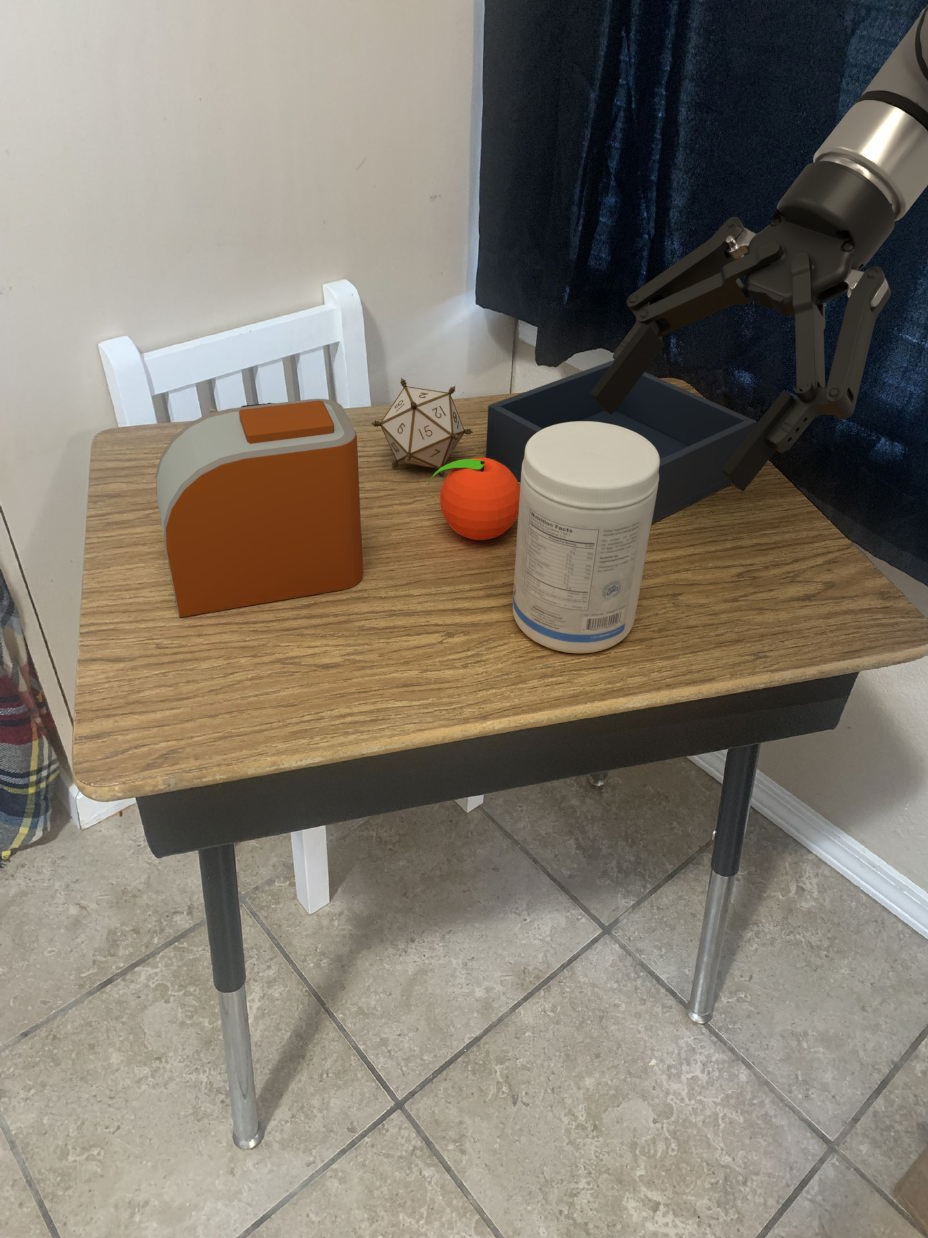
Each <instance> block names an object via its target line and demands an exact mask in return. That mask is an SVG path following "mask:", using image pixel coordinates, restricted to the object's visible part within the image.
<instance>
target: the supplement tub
mask: <svg viewBox="0 0 928 1238" xmlns="http://www.w3.org/2000/svg"><path fill="white" fill-rule="evenodd" d="M659 464H660V458H659V454H658V452H657V450H656V448H655V447H654V446H653V445H652V443H650V442H649V441H648V440H647V439H646V438H644V437H643V436H641V435H639V434H638V433H636V432H633V431H631V430H629V429H626V428H623V427H620V426H616V425H612V424H607V423H601V422H591V421H576V422H566V423H560V424H556V425H552V426H550V427H547V428H544V429H542V430H540V431H539V432H537V433H536V434H534V435H533V436H532V437H531V438H530V439H529V441H528V442H527V444H526V447H525V454H524V460H523V463H522V471H521V482H520V484H519V486H520V499H519V514H518V516H517V532H516V546H515V560H514V561H515V562H514V575H513V589H512V591H513V592H512V615H513V619H514V620H515V624H517V627H518V628H519V629H520V630H521V631H522V632H523V634H525V635H526V637H528V638H529V639H531V640H532V641H534V642H535V643H537V644H538V645H542V646H543V647H545V648H548V649H550V650H554V651H558V652H563V653H569V654H590V653H596V652H600V651H604V650H607V649H609V648H612V647H614V646H615V645H617V644H619V643H620V642H621V641H623V640H624V639H625V638H626V637H627V636H629V634H630V632H631V630H632V629H633V626H634V624H635V621H636V616H637V615H636V614H637V610H638V604H639V598H640V593H641V587H642V581H643V575H644V570H645V563H646V558H647V552H648V546H649V541H650V534H651V528H652V525H653V524H652V518H653V512H654V507H655V501H656V495H657V489H658V482H659V473H658V471H659ZM651 524H652V525H651Z"/></svg>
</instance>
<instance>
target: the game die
mask: <svg viewBox="0 0 928 1238" xmlns="http://www.w3.org/2000/svg"><path fill="white" fill-rule="evenodd" d="M399 384H400V385H401V386H402V387H403V388H402V389H401V391H400V392H399V394H398V395H397V397H396V398H395V400H394V401H393V403H392V404H391V406H390V407H389V409H388V410H387V412H386V413H385V415H384V417H382V419H381V421H379V420H377V421H376V420H374V421H372V422H370V424H371V425H372V426H373V427H377V428H378V427H380V428H381V430H382V433H383V435H384V436H385V437H384V438H385V439H386V441H387V443H388V446H389V448H390V450H391V452H392V454H393V456H394V459H395V460H393V461H392V462H391V469H393V468H397V467H398V466H399V463H402V464H407V465H414V466H418V467H419V466H420V467H425V468H431V469H436V470H439V469H440V468H441V467H443V466H445V465H446V462H447V461H448V460H449V458H450V456H451V455H452V453H453V452H454V450H455V449H456V447H457V446H458V444H459V443H460V441H461V440H462V439H463V436H464V434H465V435H468V436H470V435H471V434H473V433H474V431H473V430H471V428H466V429H465V428H464V425H463V423H462V420H461V417H460V414H459V412H458V410H457V407H456V404H455V402H454V399H453V397H452V394H454V393H455V392H456V385H454V386H451V387H449V389H448V392H447V391H442V390H441V391H440V390H434V389H428V388H420V387H414V386H408V384H407V381H406V379H404V378H402V377H400V382H399ZM439 475H440V476H442V477H443V478H446V470H444V471H441V472H439Z"/></svg>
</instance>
